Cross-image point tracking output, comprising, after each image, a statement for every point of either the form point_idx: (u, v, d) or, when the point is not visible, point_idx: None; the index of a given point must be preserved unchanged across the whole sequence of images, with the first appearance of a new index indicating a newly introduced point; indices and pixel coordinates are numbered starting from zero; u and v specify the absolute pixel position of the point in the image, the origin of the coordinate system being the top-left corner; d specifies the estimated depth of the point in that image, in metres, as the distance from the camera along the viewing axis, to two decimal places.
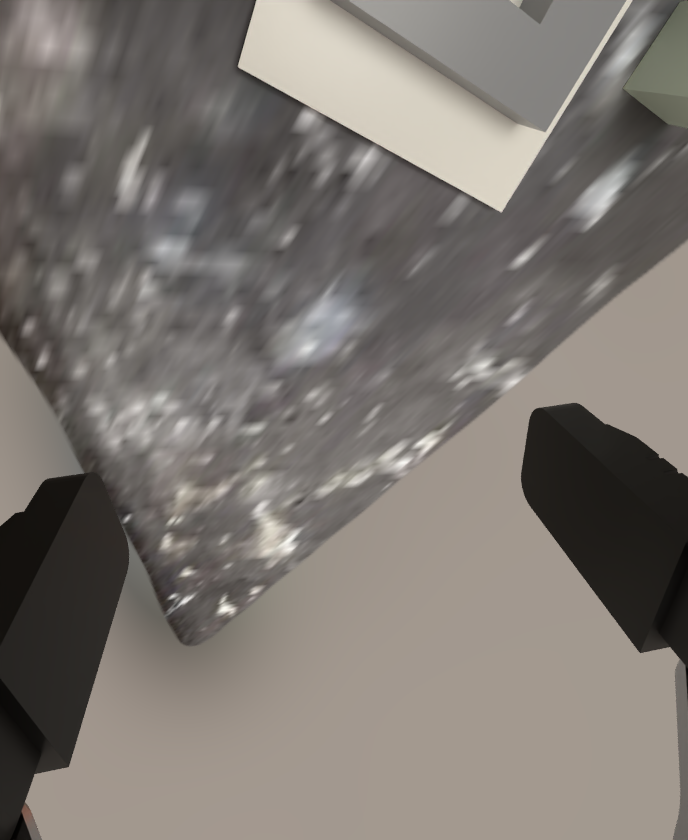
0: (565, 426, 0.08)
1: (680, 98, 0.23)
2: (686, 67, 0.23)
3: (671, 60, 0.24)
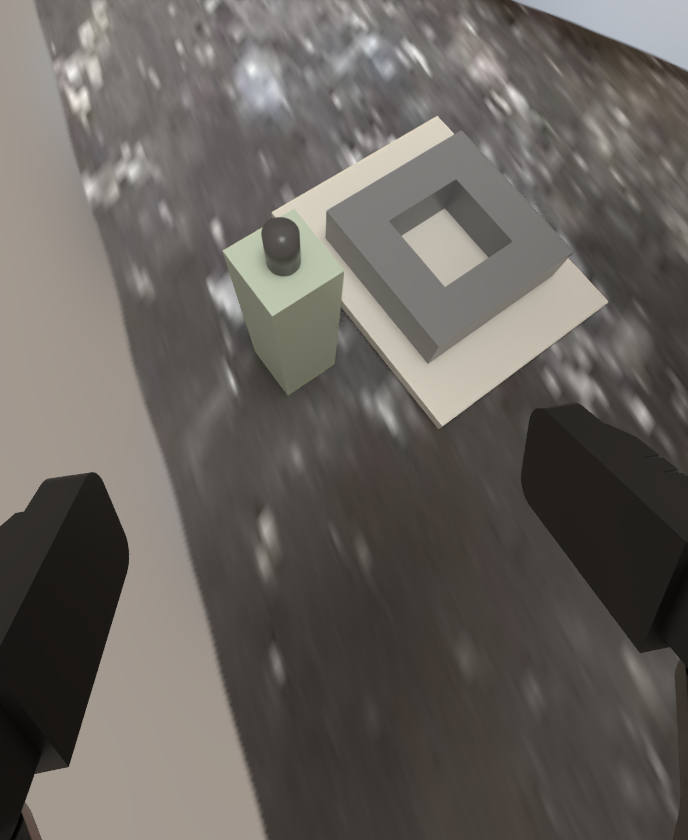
0: (565, 426, 0.08)
1: None
2: None
3: None
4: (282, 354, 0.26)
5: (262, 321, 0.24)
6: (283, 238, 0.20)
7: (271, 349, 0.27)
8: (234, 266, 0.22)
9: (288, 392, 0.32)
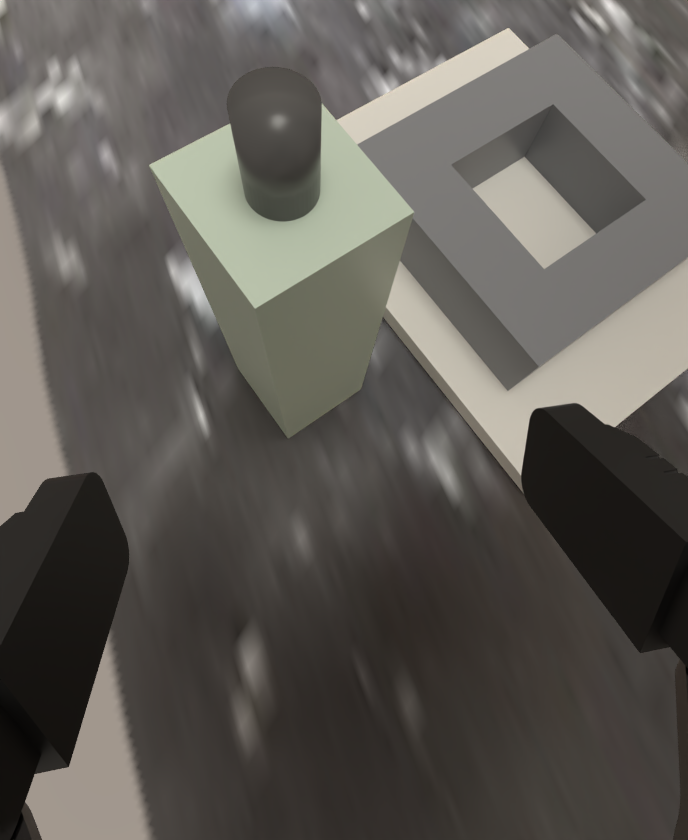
0: (565, 426, 0.08)
1: None
2: None
3: None
4: (279, 382, 0.14)
5: (239, 320, 0.12)
6: (282, 116, 0.08)
7: (259, 371, 0.15)
8: (173, 198, 0.10)
9: (289, 434, 0.20)
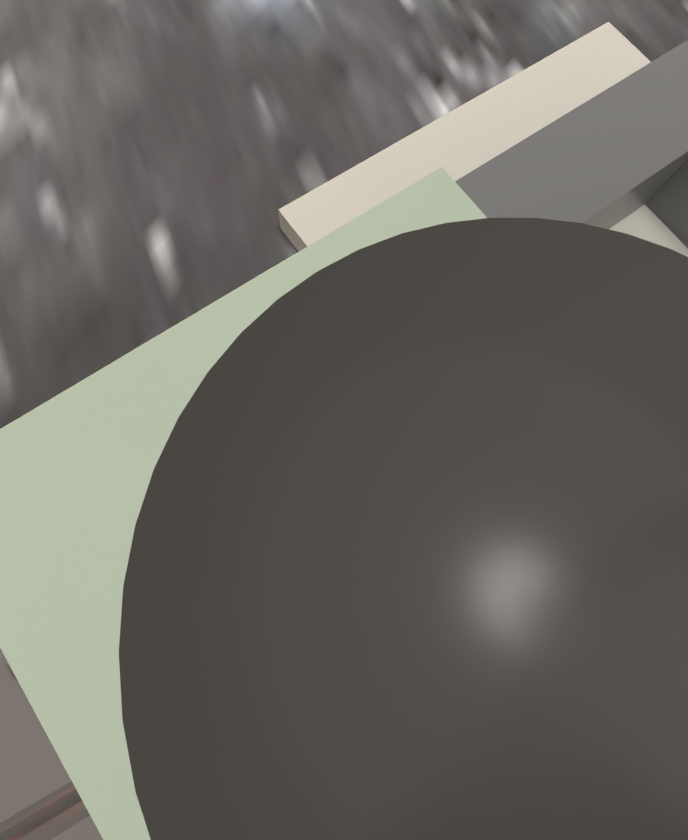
0: None
1: None
2: None
3: None
4: None
5: None
6: (668, 739, 0.01)
7: None
8: None
9: None
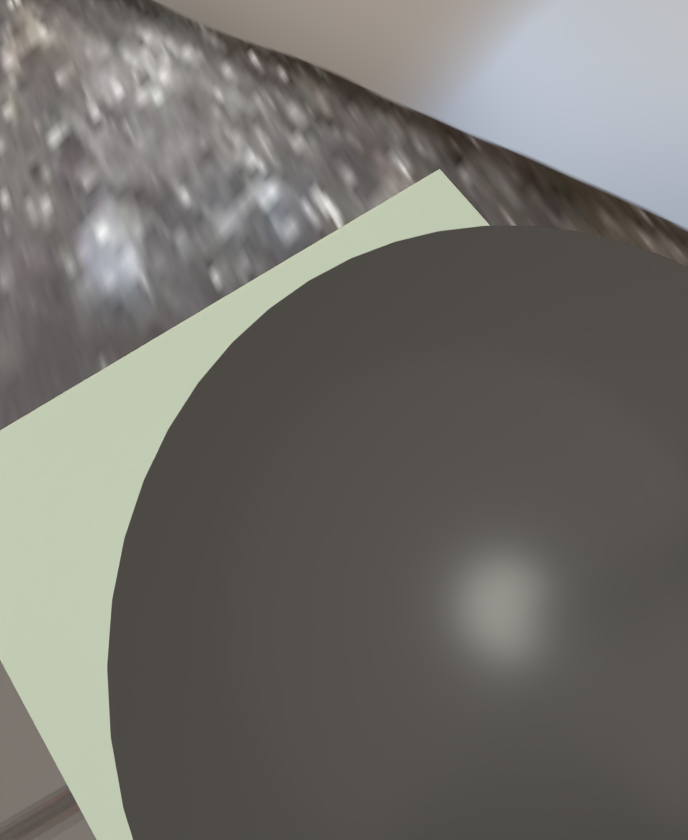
0: None
1: None
2: None
3: None
4: None
5: None
6: (667, 760, 0.01)
7: None
8: None
9: None
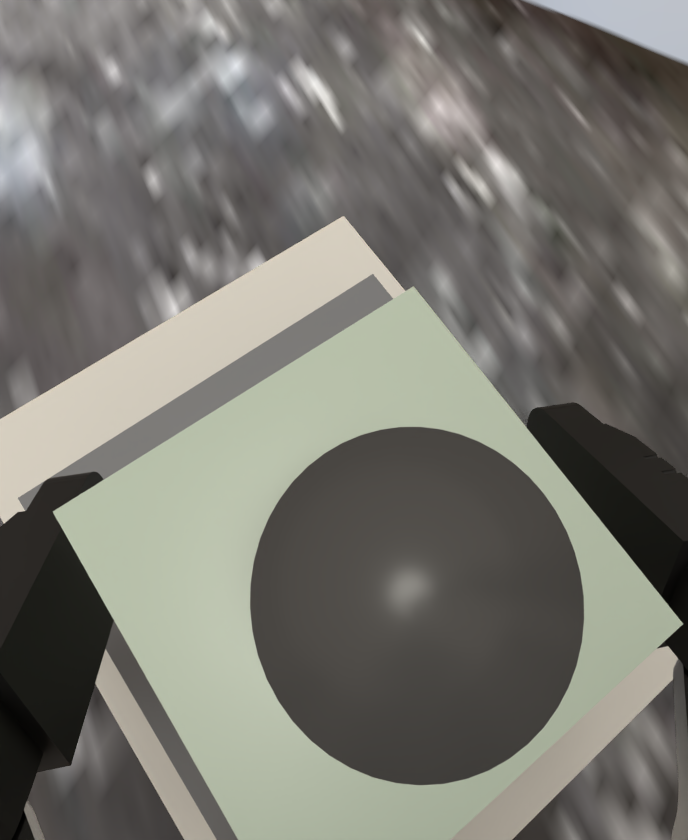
0: (564, 426, 0.08)
1: None
2: None
3: None
4: None
5: None
6: (453, 646, 0.02)
7: None
8: (109, 605, 0.04)
9: None
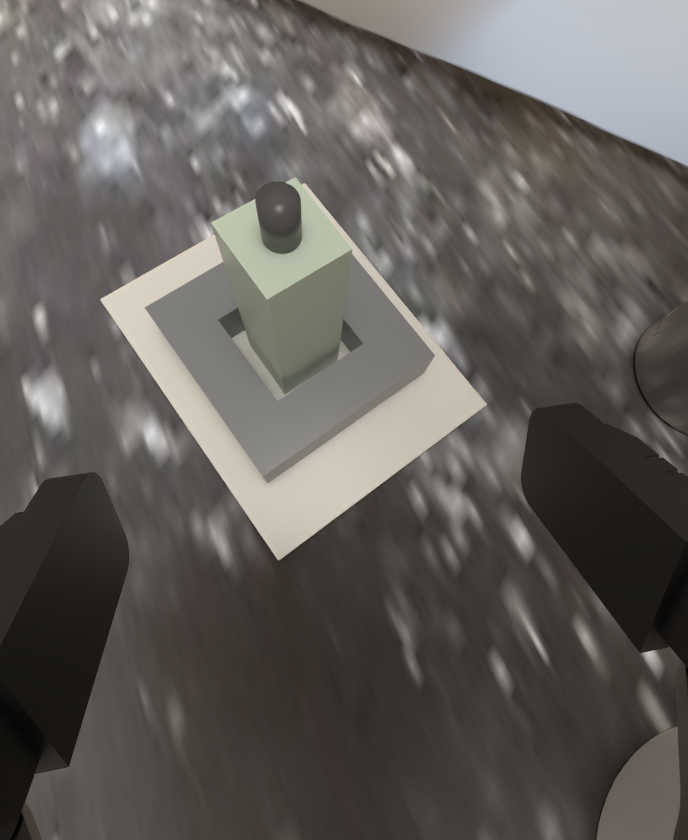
0: (565, 426, 0.08)
1: None
2: None
3: None
4: (279, 346, 0.23)
5: (256, 307, 0.21)
6: (282, 206, 0.17)
7: (266, 341, 0.24)
8: (224, 241, 0.19)
9: (285, 391, 0.29)
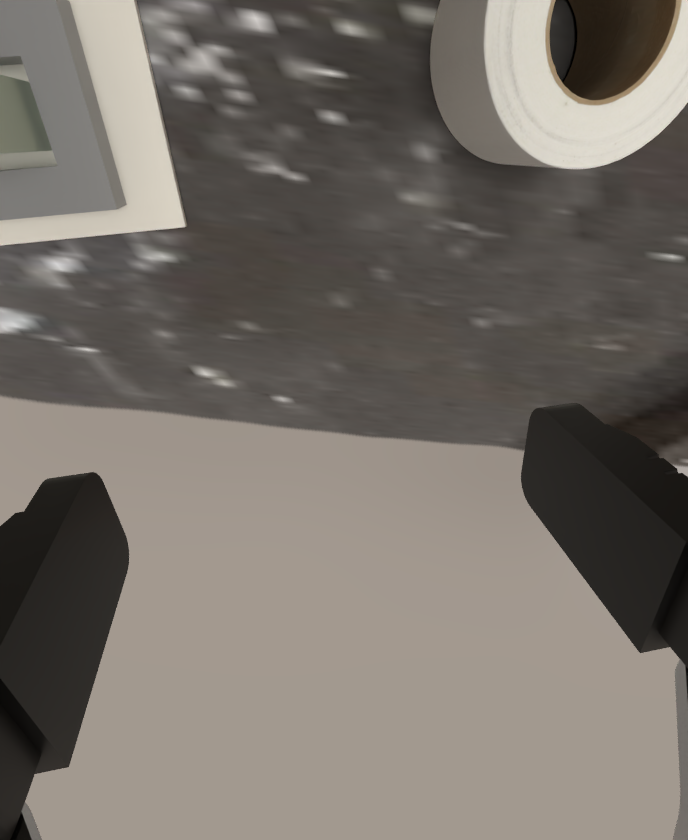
0: (565, 426, 0.08)
1: None
2: None
3: None
4: (8, 149, 0.28)
5: None
6: None
7: None
8: None
9: (50, 148, 0.34)
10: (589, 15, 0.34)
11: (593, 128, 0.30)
